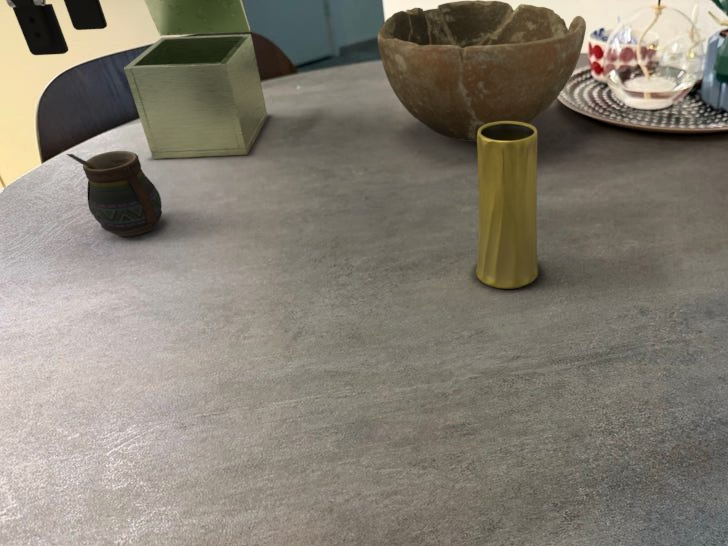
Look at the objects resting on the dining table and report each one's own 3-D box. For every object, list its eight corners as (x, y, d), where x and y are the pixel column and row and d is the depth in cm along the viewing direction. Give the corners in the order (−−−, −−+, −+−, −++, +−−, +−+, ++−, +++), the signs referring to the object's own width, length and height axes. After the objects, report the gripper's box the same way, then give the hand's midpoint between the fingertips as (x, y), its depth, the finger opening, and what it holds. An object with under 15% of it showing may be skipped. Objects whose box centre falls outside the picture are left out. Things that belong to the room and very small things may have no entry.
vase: (480, 257, 72) (477, 118, 63) (540, 259, 71) (545, 119, 62) (472, 288, 67) (466, 142, 58) (535, 291, 66) (540, 144, 58)
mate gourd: (182, 219, 80) (156, 134, 74) (132, 249, 75) (99, 159, 69) (136, 209, 83) (106, 125, 77) (83, 237, 77) (47, 149, 71)
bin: (247, 154, 96) (226, 63, 89) (152, 159, 95) (123, 68, 88) (268, 116, 108) (250, 34, 101) (184, 120, 108) (161, 37, 101)
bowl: (511, 91, 115) (511, -10, 106) (617, 140, 97) (628, 23, 88) (356, 124, 104) (342, 14, 95) (442, 186, 86) (435, 57, 77)
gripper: (-5, -182, 64) (68, 22, 74) (-123, -184, 50) (-12, 67, 60) (78, -186, 64) (140, 18, 74) (-16, -189, 50) (76, 62, 60)
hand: (72, 40), depth 67 cm, fingers open, 9 cm apart
